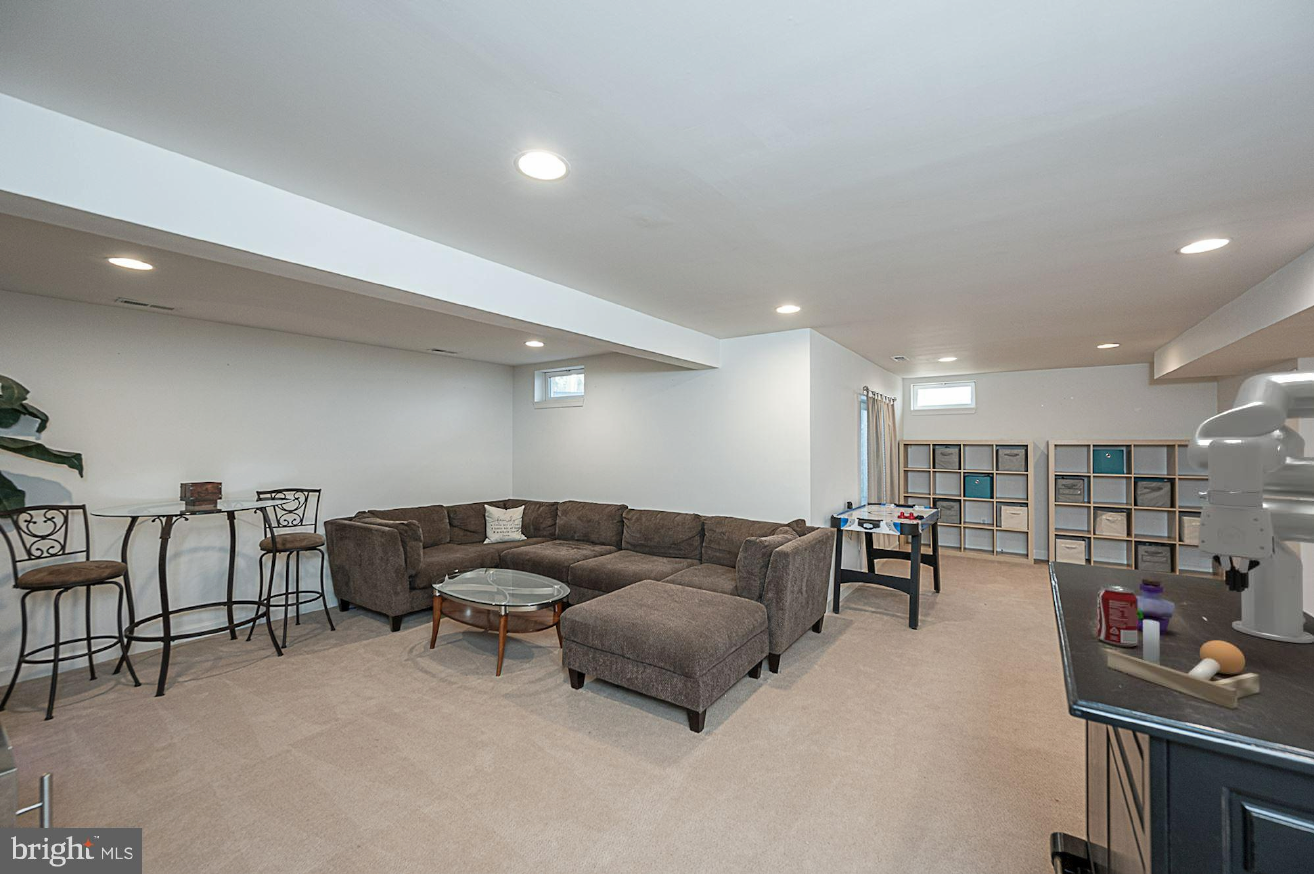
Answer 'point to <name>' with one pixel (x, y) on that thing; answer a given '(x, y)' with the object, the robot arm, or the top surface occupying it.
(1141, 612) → the potion bottle
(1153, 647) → the grey pin
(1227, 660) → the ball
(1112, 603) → the soda can
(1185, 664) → the top surface
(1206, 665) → the ivory pin
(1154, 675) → the wooden t-square
